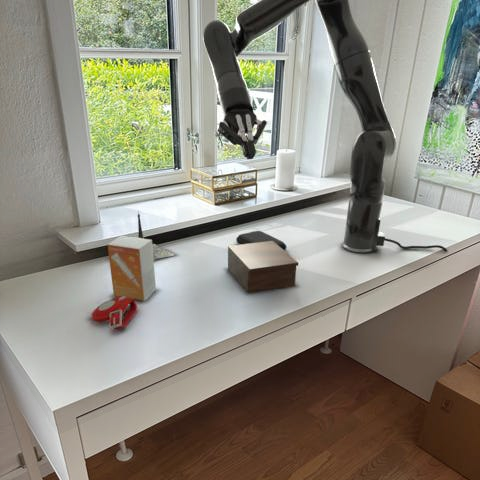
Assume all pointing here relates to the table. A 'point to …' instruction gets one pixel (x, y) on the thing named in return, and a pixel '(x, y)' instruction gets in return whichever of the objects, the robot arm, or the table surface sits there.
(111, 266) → the small box
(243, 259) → the cover
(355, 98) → the robot arm
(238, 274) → the case
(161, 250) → the eiffel tower figurine
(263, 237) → the carrying case
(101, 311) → the tracker holder
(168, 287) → the table surface
